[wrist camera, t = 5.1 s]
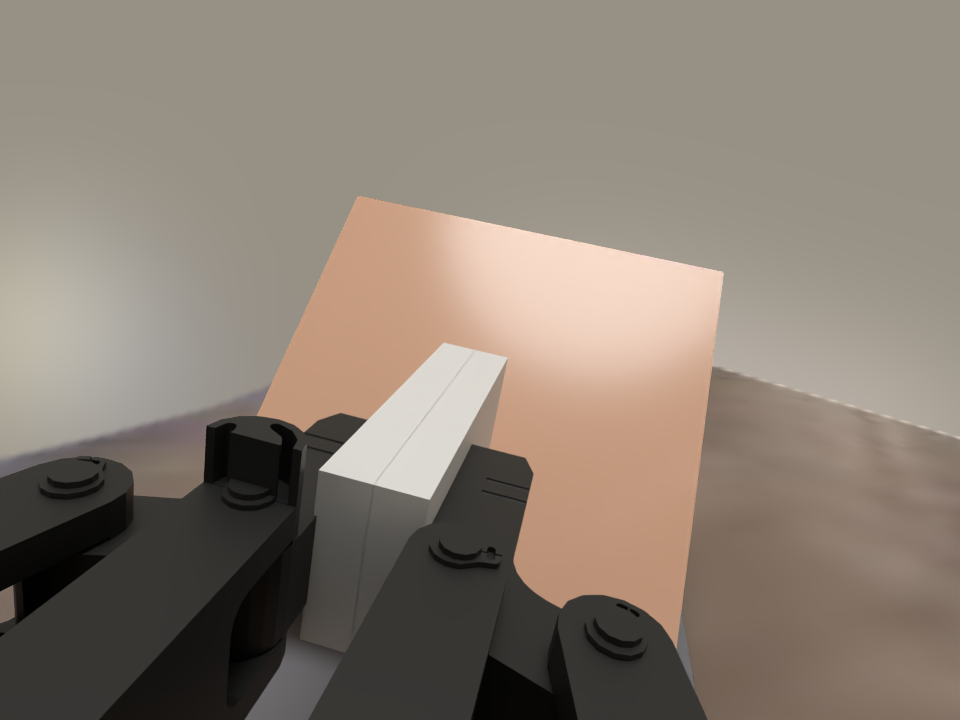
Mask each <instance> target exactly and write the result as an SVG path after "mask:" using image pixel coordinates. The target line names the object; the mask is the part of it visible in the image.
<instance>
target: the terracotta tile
mask: <svg viewBox="0 0 960 720" xmlns="http://www.w3.org/2000/svg"><path fill="white" fill-rule="evenodd" d="M723 274H724V273H723V272H720V271H715V270H711V269H706V268H701V267H696V266H692V265H686V264H682V263H677V262H672V261H667V260H662V259H657V258H653V257H648V256H643V255H639V254H634V253H629V252H624V251H620V250H615V249H610V248H605V247H600V246H596V245H591V244H586V243H581V242H577V241H572V240H567V239H562V238H557V237H553V236H548V235H543V234H538V233H533V232H529V231H524V230H519V229H514V228H509V227H505V226H500V225H495V224H490V223H486V222H481V221H476V220H471V219H466V218H461V217H457V216H451V215H447V214H443V213H438V212H433V211H428V210H423V209H419V208H414V207H409V206H404V205H399V204H395V203H390V202H385V201H380V200H375V199H371V198H366V197H361V196H358V197H357V199H356V201H355V203H354V206H353V208H352V210H351V212H350V214H349V216H348V219H347V221H346V223H345V225H344V227H343V230H342V232H341V234H340V236H339V238H338V241H337V242H336V245H335V247H334V249H333V251H332V253H331V256H330V258H329V260H328V262H327V264H326V266H325V269H324V271H323V273H322V275H321V277H320V280H319V282H318V284H317V286H316V288H315V291H314V293H313V295H312V297H311V299H310V301H309V303H308V306H307V308H306V310H305V312H304V314H303V317H302V319H301V321H300V323H299V325H298V327H297V330H296V332H295V334H294V336H293V338H292V341H291V343H290V345H289V347H288V349H287V351H286V354H285V356H284V358H283V360H282V362H281V364H280V367H279V369H278V371H277V373H276V375H275V377H274V380H273V382H272V384H271V386H270V388H269V391H268V393H267V395H266V397H265V399H264V401H263V404H262V406H261V408H260V410H259V412H258V414H257V416H262V417H268V418H274V419H280V420H282V421H285V422H288V423H290V424H293V425H295V426H296V427H298V428H299V429H300V430H301V431H303V432H305V431H306V430H307V429H308V428H310V427H311V426H312V425H313V424H314V423H315V422H317V421H318V420H321V419H323V418H326V417H329V416H332V415H335V414H338V413H343V414H347V415H351V416H355V417H359V418H363V419H367V420H368V419H369V418H370V417H371V416H372V415H373V414H374V413H375V412H376V411H377V410H378V409H379V408H380V407H381V406H382V405H383V404H384V403H385V402H386V401H387V400H388V399H389V398H390V397H391V396H392V395H393V394H394V393H395V392H396V391H397V390H398V389H399V388H400V387H401V386H402V385H403V384H404V383H405V382H406V381H407V380H408V379H409V378H410V377H411V376H412V374H413V373H414V372H415V371H416V370H417V369H418V368H419V367H420V366H421V365H422V364H423V363H424V362H425V361H426V360H427V359H428V358H429V357H430V356H431V355H432V354H433V353H434V352H435V351H436V350H437V349H438V348H439V347H440V346H441V345H442V344H443V343H448V344H452V345H456V346H461V347H465V348H469V349H473V350H478V351H482V352H486V353H491V354H495V355H499V356H503V357H508V360H507V365H506V370H505V375H504V379H503V384H502V389H501V394H500V399H499V404H498V408H497V413H496V418H495V423H494V428H493V433H492V438H491V442H490V447H489V449H493V450H497V451H501V452H505V453H509V454H513V455H516V456H520V457H524V458H526V460H527V462H528V463H529V465H530V467H531V469H532V471H533V473H534V475H533V479H532V483H531V488H530V492H529V496H528V500H527V505H526V509H525V513H524V517H523V522H522V526H521V530H520V534H519V539H518V543H517V547H516V551H515V555H514V565H515V568H516V571H517V573H518V575H519V576H520V578H521V579H522V580H523V582H524V583H525V584H526V585H527V586H528V587H529V588H530V589H531V590H532V591H534V592H535V593H536V594H538V595H539V596H541V597H542V598H544V599H545V600H547V601H549V602H550V603H552V604H554V605H556V606H558V607H560V608H563V606H564V605H565V604H566V602H567V601H569V600H571V599H574V598H577V597H579V596H582V595H606V596H610V597H614V598H618V599H621V600H625V601H627V602H629V603H630V604H632V605H634V606H636V607H638V608H640V609H642V610H644V611H645V612H647V613H648V614H649V615H650V616H651V617H653V618H654V619H655V620H656V621H657V622H659V623H660V624H661V625H662V626H663V628H664V629H665V631H666V632H667V634H668V635H669V637H670V638H671V640H672V641H673V643H674V645H675V648H676V649H677V641H678V633H679V625H680V617H681V609H682V601H683V593H684V585H685V577H686V569H687V562H688V554H689V546H690V538H691V530H692V522H693V514H694V506H695V498H696V490H697V482H698V474H699V466H700V458H701V450H702V442H703V434H704V426H705V418H706V410H707V402H708V394H709V386H710V378H711V370H712V362H713V354H714V346H715V338H716V330H717V322H718V314H719V306H720V298H721V290H722V282H723Z"/></svg>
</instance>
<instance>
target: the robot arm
mask: <svg viewBox="0 0 960 720" xmlns="http://www.w3.org/2000/svg"><path fill="white" fill-rule="evenodd" d="M507 360H508V357H503V356H499V355H495V354H491V353H486V352H482V351H478V350H473V349H469V348H465V347H461V346H456V345H452V344H448V343H443V344H442V345H441V346H440V347H439V348H438V349H437V350H436V351H435V352H434V353H433V354H432V355H431V356H430V357H429V358H428V359H427V360H426V361H425V362H424V363H423V364H422V365H421V366H420V367H419V368H418V369H417V370H416V371H415V372H414V373H413V374H412V376H411V377H410V378H409V379H408V380H407V381H406V382H405V383H404V384H403V385H402V386H401V387H400V388H399V389H398V390H397V391H396V392H395V393H394V394H393V395H392V396H391V397H390V398H389V399H388V400H387V401H386V402H385V403H384V404H383V405H382V406H381V407H380V408H379V409H378V410H377V411H376V412H375V413H374V414H373V415H372V416H371V417H370V418H369V419H368V420H367V419H363V418H359V417H355V416H351V415H347V414H343V413H338V414H335V415H332V416H329V417H326V418H323V419H321V420H318V421H317V422H315V423H314V424H313V425H312V426H311V427H310V428H308V429H307V430H306V431H305V432H303V431H301V430H300V429H299V428H298V427H296V426H295V425H293V424H290V423H288V422H285V421H282V420H280V419H274V418H268V417H262V416H239V417H233V418H227V419H221V420H219V421H217V422H214V423H212V424H210V425H207V428H206V447H205V467H204V482H203V483H202V484H200V485H199V486H198V487H196V488H195V489H194V490H192V491H191V492H190V493H189V494H187V495H186V496H185V497H183V498H182V499H176V498H161V497H147V496H133V491H134V481H133V475H132V471H131V470H129V469H128V468H127V467H126V466H124V465H123V464H122V463H118V462H115V461H112V460H109V459H105V458H99V457H94V458H92V456H79V457H76V458H66V459H59V460H55V461H51V462H47V463H43V464H39V465H36V466H33V467H31V468H28V469H25V470H22V471H19V472H16V473H13V474H11V475H8V476H5V477H2V478H0V591H2V590H4V589H6V588H8V587H10V586H12V585H13V589H14V606H15V617H14V618H12V619H10V620H9V621H6V622H3V623H0V720H245V718H246V717H247V715H248V714H249V712H250V711H251V709H252V708H253V706H254V705H255V703H256V702H257V700H258V699H259V697H260V696H261V694H262V693H263V691H264V690H265V688H266V687H267V685H268V684H269V682H270V681H271V679H272V678H273V676H274V675H275V673H276V672H277V670H278V669H279V667H280V665H281V662H282V660H283V657H284V654H285V649H286V639H287V630H288V629H289V628H290V626H291V625H292V623H293V622H294V620H295V619H296V618H297V616H298V615H299V613H300V612H301V611H302V609H303V613H302V622H301V631H300V639H301V640H305V641H308V642H311V643H314V644H318V645H321V646H324V647H328V648H331V649H334V650H337V651H341V652H344V653H345V654H344V656H343V658H342V659H341V661H340V663H339V665H338V667H337V668H336V670H335V672H334V674H333V676H332V677H331V679H330V681H329V683H328V685H327V686H326V688H325V690H324V692H323V694H322V695H321V697H320V699H319V701H318V703H317V705H316V706H315V708H314V710H313V712H312V714H311V715H310V717H309V719H308V720H707V718H706V715H705V713H704V711H703V709H702V706H701V704H700V702H699V699H698V697H697V695H696V693H695V690H694V688H693V686H692V684H691V681H690V679H689V677H688V675H687V672H686V670H685V668H684V666H683V663H682V661H681V659H680V657H679V654H678V652H677V650H676V648H675V645H674V643H673V641H672V640H671V638H670V637H669V635H668V634H667V632H666V631H665V629H664V628H663V626H662V625H661V624H660V623H659V622H657V621H656V620H655V619H654V618H653V617H651V616H650V615H649V614H648V613H647V612H645V611H644V610H642V609H640V608H638V607H636V606H634V605H632V604H630V603H629V602H627V601H625V600H621V599H618V598H614V597H610V596H606V595H582V596H579V597H577V598H574V599H571V600H569V601H567V602H566V604H565V605H564V606H563V608H560V607H558V606H556V605H554V604H552V603H550V602H549V601H547V600H545V599H544V598H542V597H541V596H539V595H538V594H536V593H535V592H534V591H532V590H531V589H530V588H529V587H528V586H527V585H526V584H525V583H524V582H523V580H522V579H521V578H520V576H519V575H518V573H517V571H516V568H515V565H514V555H515V551H516V547H517V543H518V539H519V534H520V530H521V526H522V522H523V517H524V513H525V509H526V505H527V500H528V496H529V492H530V488H531V483H532V479H533V475H534V473H533V471H532V469H531V467H530V465H529V463H528V462H527V460H526V458H524V457H520V456H516V455H513V454H509V453H505V452H501V451H497V450H493V449H489V447H490V442H491V438H492V433H493V428H494V423H495V418H496V413H497V408H498V404H499V399H500V394H501V389H502V384H503V379H504V375H505V370H506V365H507Z"/></svg>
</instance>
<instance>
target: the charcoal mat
mask: <svg viewBox="0 0 960 720" xmlns="http://www.w3.org/2000/svg"><path fill="white" fill-rule="evenodd" d="M302 613H303V609H302V611H301V612H300V613H299V615H298V616H297V618H296V619H295V620H294V622H293V623H292V625H291V626H290V628H289V629H288V630H287V639H286V649H285V654H284V657H283V660H282V662H281V665H280V667H279V669H278V670H277V672H276V673H275V675H274V676H273V678H272V679H271V681H270V682H269V684H268V685H267V687H266V688H265V690H264V691H263V693H262V694H261V696H260V697H259V699H258V700H257V702H256V703H255V705H254V706H253V708H252V709H251V711H250V712H249V714H248V715H247V717H246V718H245V720H308V719H309V717H310V715H311V714H312V712H313V710H314V708H315V706H316V705H317V703H318V701H319V699H320V697H321V695H322V694H323V692H324V690H325V688H326V686H327V685H328V683H329V681H330V679H331V677H332V676H333V674H334V672H335V670H336V668H337V667H338V665H339V663H340V661H341V659H342V658H343V656H344V654H345V653H344V652H341V651H337V650H334V649H331V648H328V647H324V646H321V645H318V644H314V643H311V642H308V641H305V640H301V639H300V631H301V622H302ZM676 650H677V652H678V654H679V657H680V659H681V661H682V663H683V666H684V668H685V670H686V672H687V675H688V677H689V679H690V681H691V684H692V686H693V688H694V682H693V675H692V669H691V663H690V657H689V651H688V645H687V639H686V633H685V627H684V620H683V614H682V609H681V617H680V625H679V633H678V641H677V649H676ZM694 690H695V688H694Z"/></svg>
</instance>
